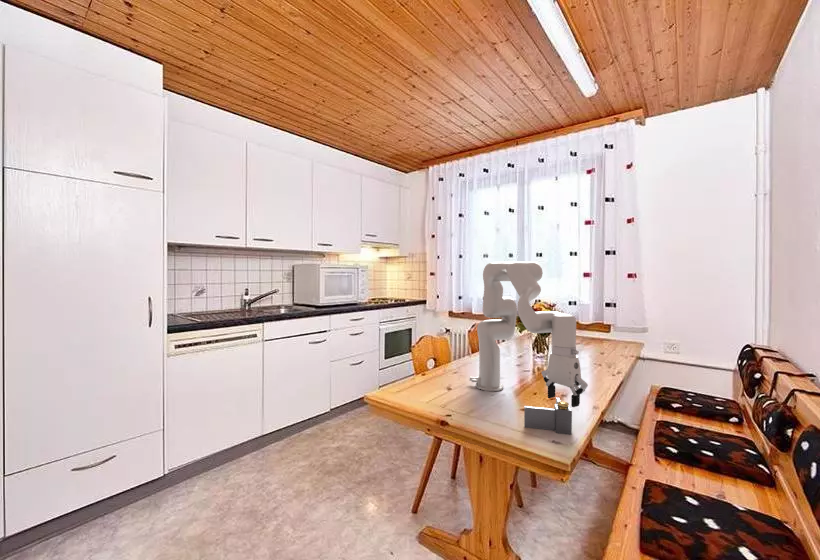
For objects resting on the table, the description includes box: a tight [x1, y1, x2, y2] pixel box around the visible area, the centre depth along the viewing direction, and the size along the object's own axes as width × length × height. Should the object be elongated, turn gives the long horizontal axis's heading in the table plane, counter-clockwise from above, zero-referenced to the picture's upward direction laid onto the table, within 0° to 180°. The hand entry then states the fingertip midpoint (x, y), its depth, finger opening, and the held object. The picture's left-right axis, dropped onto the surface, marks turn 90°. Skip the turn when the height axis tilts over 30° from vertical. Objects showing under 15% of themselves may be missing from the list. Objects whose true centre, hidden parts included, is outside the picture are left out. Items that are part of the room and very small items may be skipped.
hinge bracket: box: [523, 396, 573, 435], centre depth 126 cm, size 15×15×8 cm
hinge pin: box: [558, 400, 570, 409], centre depth 120 cm, size 3×3×10 cm
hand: (563, 401), depth 120 cm, fingers open, 8 cm apart
